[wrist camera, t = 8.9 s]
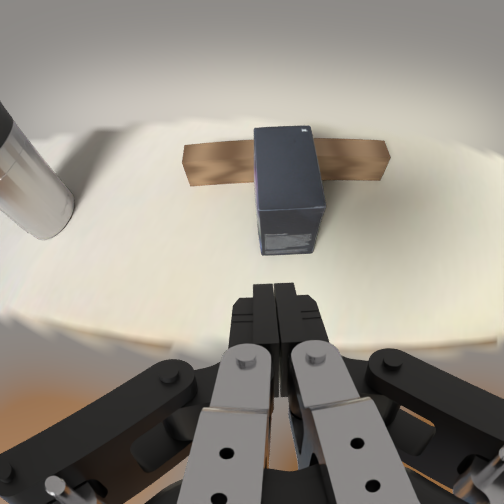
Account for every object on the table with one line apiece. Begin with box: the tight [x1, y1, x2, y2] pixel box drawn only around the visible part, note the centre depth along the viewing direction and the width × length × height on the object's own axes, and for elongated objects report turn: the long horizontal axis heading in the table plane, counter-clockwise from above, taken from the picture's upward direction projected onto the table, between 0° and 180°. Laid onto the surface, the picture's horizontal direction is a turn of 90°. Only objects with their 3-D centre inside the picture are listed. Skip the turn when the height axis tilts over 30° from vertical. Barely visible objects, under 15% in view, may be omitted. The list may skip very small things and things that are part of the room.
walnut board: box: [182, 138, 391, 186], centre depth 38 cm, size 26×3×5 cm, turn 92°
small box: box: [254, 126, 326, 255], centre depth 33 cm, size 11×6×10 cm, turn 2°
